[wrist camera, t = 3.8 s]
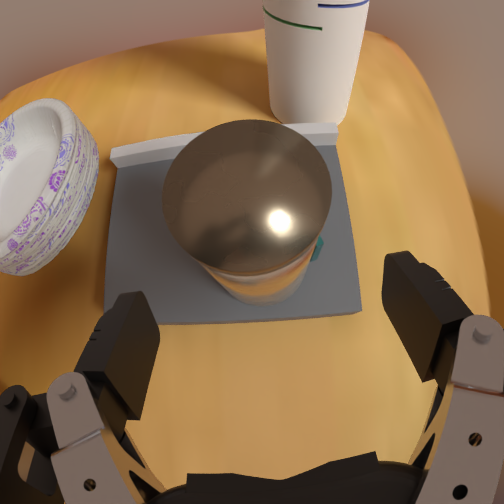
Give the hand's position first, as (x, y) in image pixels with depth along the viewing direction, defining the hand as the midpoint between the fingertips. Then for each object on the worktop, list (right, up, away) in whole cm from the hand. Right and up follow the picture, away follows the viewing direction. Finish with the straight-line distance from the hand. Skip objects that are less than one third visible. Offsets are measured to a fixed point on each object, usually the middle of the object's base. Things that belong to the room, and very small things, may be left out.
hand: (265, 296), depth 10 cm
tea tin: (0, +1, +10) cm, 10 cm away
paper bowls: (-20, +6, +16) cm, 26 cm away
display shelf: (-2, +3, +13) cm, 13 cm away
